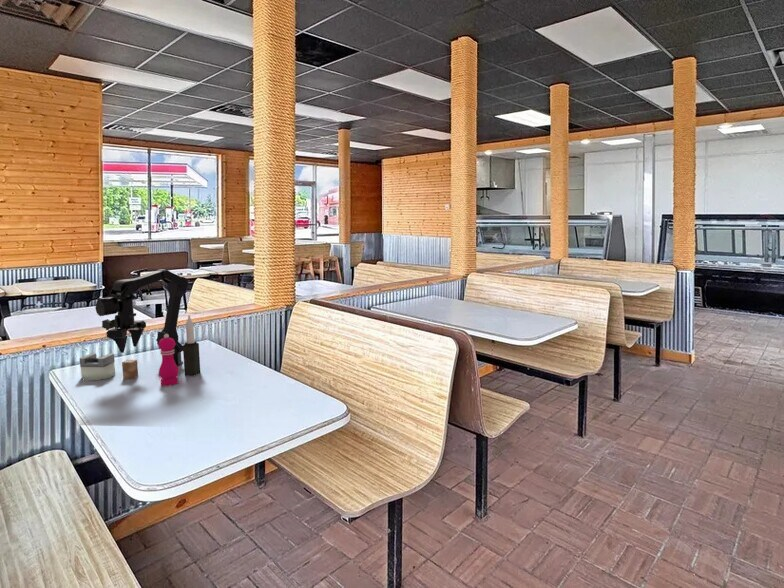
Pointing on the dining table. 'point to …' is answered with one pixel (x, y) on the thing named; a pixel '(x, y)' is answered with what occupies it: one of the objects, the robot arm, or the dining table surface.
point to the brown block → (130, 369)
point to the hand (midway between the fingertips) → (128, 349)
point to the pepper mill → (168, 362)
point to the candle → (191, 351)
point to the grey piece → (98, 372)
